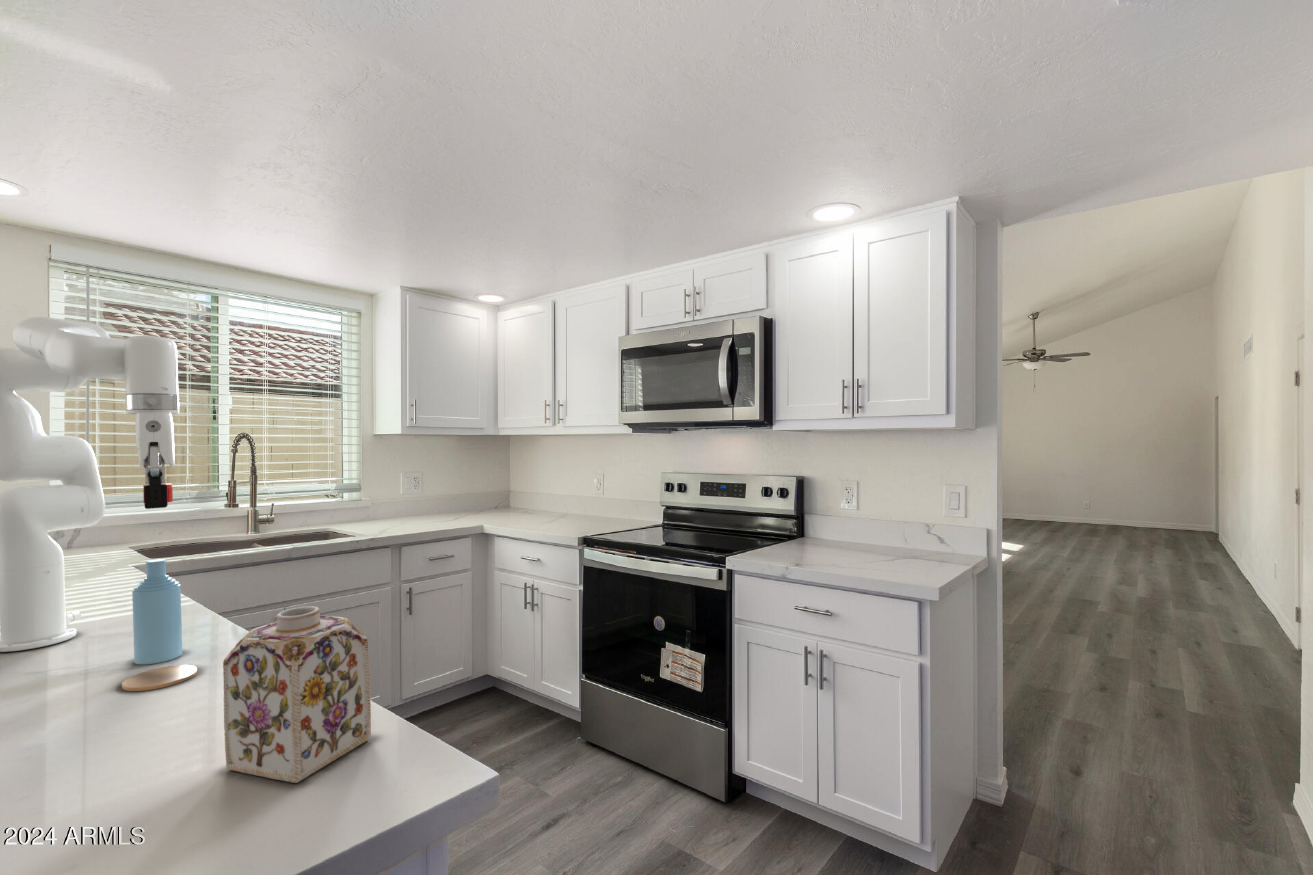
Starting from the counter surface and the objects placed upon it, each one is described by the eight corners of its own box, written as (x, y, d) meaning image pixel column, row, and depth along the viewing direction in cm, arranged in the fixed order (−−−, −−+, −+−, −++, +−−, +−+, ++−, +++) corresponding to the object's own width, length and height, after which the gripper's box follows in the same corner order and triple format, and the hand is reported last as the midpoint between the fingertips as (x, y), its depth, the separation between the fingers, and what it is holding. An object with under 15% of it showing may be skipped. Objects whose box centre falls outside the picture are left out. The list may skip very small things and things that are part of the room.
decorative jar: (374, 739, 83) (370, 601, 83) (297, 786, 72) (293, 627, 72) (304, 727, 87) (300, 596, 87) (221, 770, 76) (217, 620, 76)
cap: (164, 502, 113) (164, 484, 113) (138, 504, 113) (138, 485, 113) (177, 501, 117) (176, 483, 117) (152, 502, 117) (151, 484, 117)
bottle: (149, 653, 121) (146, 558, 120) (190, 649, 122) (187, 556, 122) (125, 666, 114) (122, 565, 114) (168, 662, 115) (165, 563, 115)
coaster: (147, 670, 111) (147, 667, 111) (209, 666, 112) (209, 662, 112) (106, 693, 101) (105, 689, 101) (174, 688, 102) (174, 684, 102)
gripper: (179, 403, 110) (183, 508, 111) (178, 408, 124) (181, 502, 124) (123, 402, 106) (127, 512, 106) (127, 408, 119) (131, 505, 119)
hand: (156, 506), depth 115 cm, fingers closed on cap, 4 cm apart
